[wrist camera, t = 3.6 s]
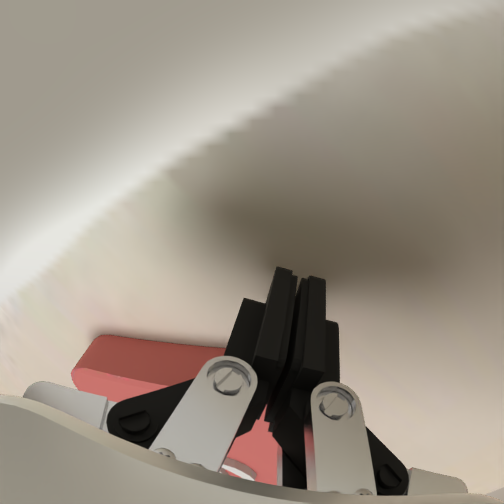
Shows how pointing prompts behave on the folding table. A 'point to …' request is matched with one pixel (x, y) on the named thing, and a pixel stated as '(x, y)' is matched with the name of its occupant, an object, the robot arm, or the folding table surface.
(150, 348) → the plaque
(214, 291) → the folding table surface
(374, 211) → the folding table surface
